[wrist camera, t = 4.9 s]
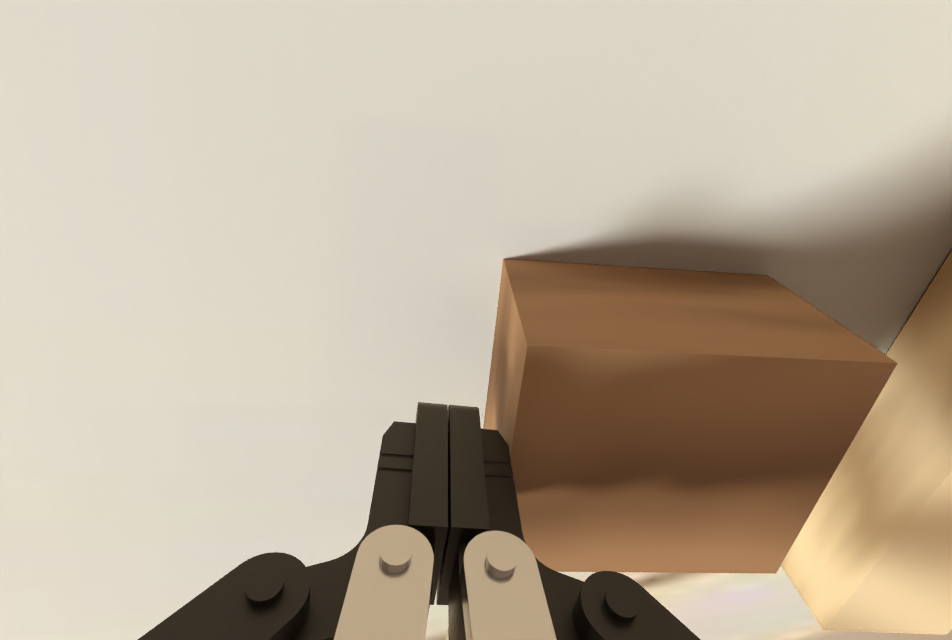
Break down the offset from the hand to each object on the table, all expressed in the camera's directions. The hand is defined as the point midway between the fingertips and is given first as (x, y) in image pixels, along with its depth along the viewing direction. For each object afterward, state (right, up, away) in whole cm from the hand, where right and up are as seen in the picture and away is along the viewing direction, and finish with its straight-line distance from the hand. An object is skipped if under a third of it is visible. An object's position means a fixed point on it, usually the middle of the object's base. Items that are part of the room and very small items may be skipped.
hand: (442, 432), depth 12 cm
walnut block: (+5, +1, +4) cm, 7 cm away
